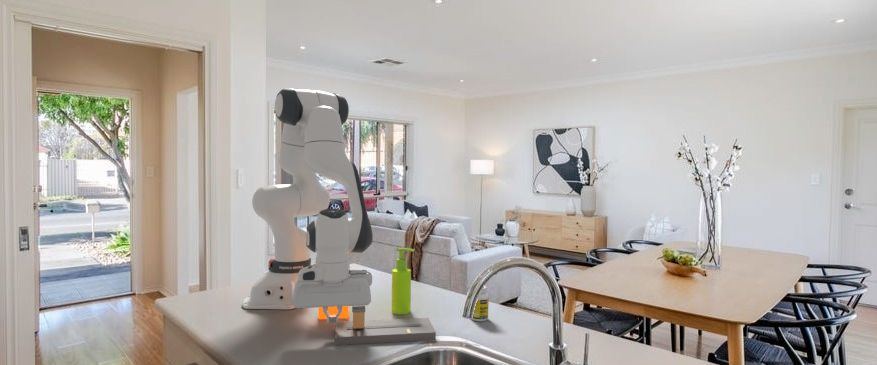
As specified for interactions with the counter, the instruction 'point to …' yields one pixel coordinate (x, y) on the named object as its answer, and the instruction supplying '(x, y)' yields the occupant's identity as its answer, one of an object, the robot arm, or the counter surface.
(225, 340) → the counter surface
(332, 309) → the orange juice
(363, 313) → the fader tab
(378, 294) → the counter surface
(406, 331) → the board
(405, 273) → the soap dispenser
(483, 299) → the supplement bottle
